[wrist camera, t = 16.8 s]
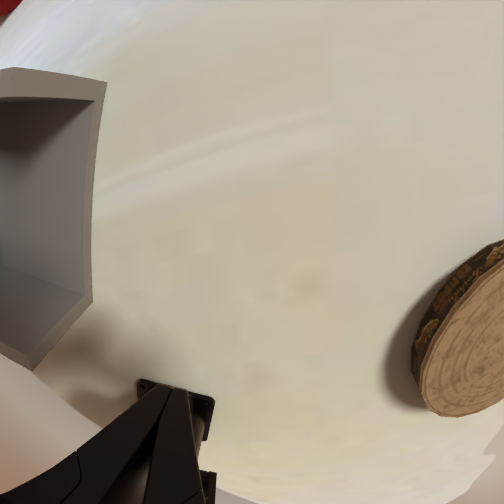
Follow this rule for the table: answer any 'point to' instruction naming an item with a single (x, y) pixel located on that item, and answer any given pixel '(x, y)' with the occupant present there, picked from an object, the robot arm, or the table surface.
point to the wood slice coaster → (464, 339)
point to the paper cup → (8, 6)
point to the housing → (45, 206)
